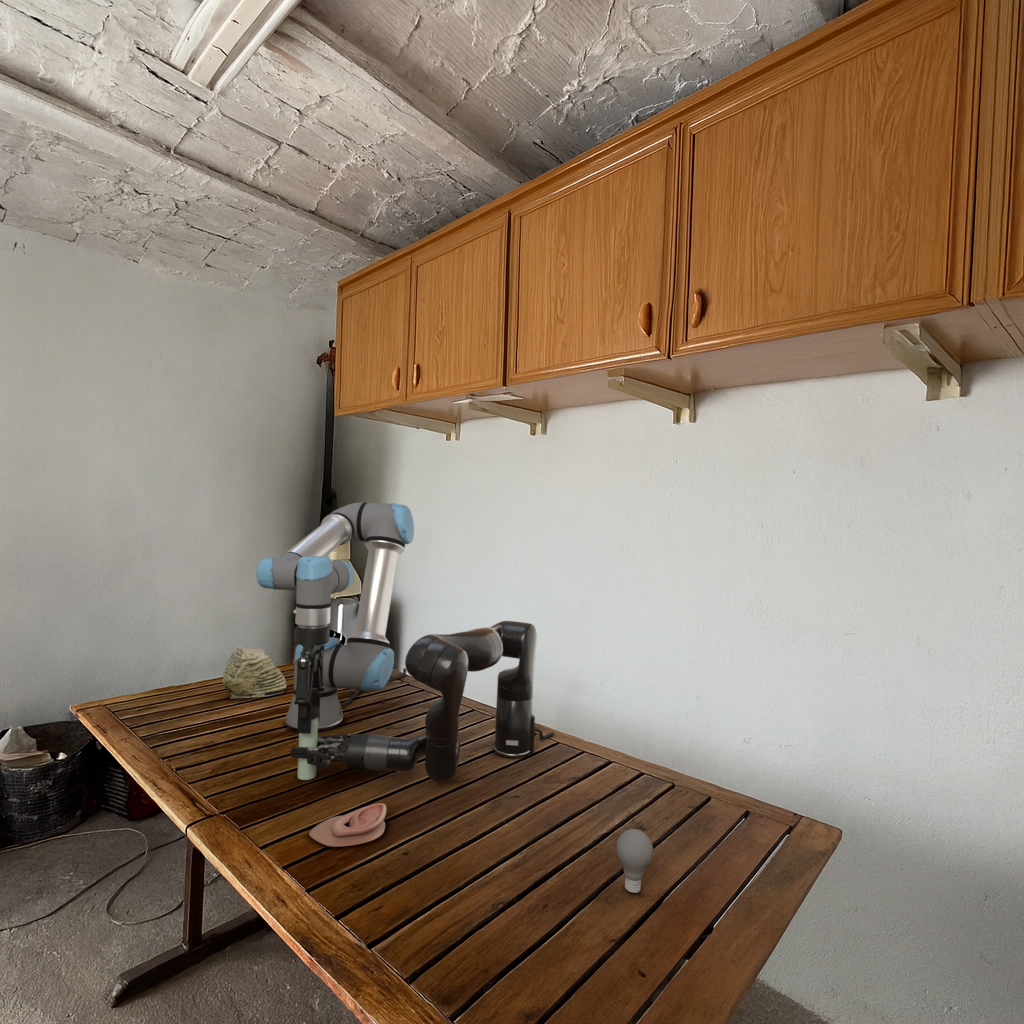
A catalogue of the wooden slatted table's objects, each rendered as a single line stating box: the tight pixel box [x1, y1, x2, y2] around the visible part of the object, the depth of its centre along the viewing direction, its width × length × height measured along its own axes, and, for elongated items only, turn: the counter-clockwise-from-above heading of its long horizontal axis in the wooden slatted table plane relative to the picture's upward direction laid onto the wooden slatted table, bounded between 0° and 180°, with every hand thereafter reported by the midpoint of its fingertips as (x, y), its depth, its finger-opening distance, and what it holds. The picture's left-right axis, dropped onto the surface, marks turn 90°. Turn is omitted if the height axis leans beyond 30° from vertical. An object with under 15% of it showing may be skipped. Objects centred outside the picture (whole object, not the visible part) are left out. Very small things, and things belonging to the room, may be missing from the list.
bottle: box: [297, 717, 319, 781], centre depth 143 cm, size 4×4×15 cm
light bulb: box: [615, 828, 654, 894], centre depth 106 cm, size 6×6×10 cm
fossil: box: [222, 646, 288, 699], centre depth 198 cm, size 9×18×15 cm, turn 132°
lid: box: [311, 706, 320, 719], centre depth 143 cm, size 5×5×2 cm
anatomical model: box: [308, 802, 387, 848], centre depth 120 cm, size 13×4×12 cm
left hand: (308, 726), depth 143 cm, fingers open, 7 cm apart
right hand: (295, 747), depth 143 cm, fingers closed on bottle, 4 cm apart
